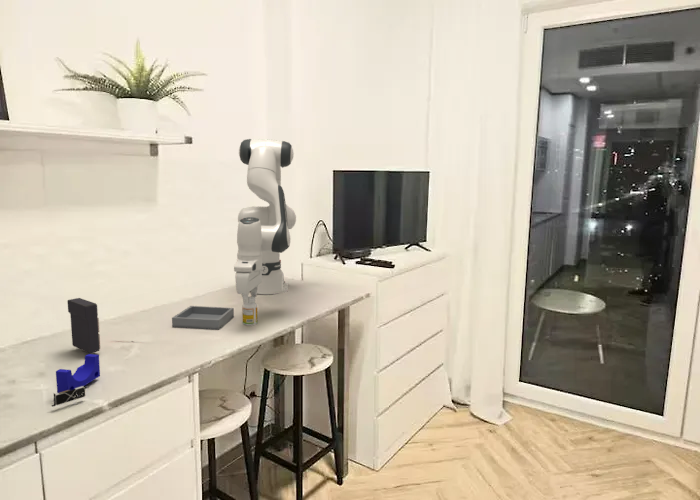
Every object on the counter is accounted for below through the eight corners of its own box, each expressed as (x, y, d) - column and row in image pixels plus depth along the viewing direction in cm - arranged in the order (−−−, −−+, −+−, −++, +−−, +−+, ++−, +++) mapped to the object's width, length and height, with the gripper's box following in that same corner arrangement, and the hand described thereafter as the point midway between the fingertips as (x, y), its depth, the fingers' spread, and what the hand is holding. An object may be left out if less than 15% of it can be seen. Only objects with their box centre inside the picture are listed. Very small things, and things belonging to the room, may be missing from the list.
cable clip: (85, 374, 135) (83, 353, 134) (100, 376, 134) (98, 354, 133) (52, 393, 123) (50, 370, 122) (68, 395, 122) (66, 372, 121)
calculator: (102, 350, 152) (99, 303, 150) (88, 354, 148) (84, 306, 146) (84, 342, 158) (81, 297, 156) (70, 346, 155) (67, 299, 152)
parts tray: (190, 314, 191) (190, 305, 191) (233, 316, 190) (233, 307, 189) (172, 327, 175) (171, 317, 175) (218, 329, 174) (218, 320, 173)
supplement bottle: (251, 320, 186) (250, 295, 184) (260, 323, 182) (260, 297, 181) (239, 323, 182) (239, 297, 180) (248, 326, 178) (248, 300, 177)
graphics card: (52, 406, 116) (51, 394, 116) (51, 405, 117) (50, 393, 116) (85, 396, 122) (84, 385, 121) (84, 395, 122) (83, 384, 122)
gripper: (249, 258, 189) (250, 293, 191) (232, 267, 168) (232, 307, 170) (266, 258, 188) (266, 294, 190) (250, 268, 168) (250, 307, 170)
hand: (250, 300), depth 180 cm, fingers open, 8 cm apart
